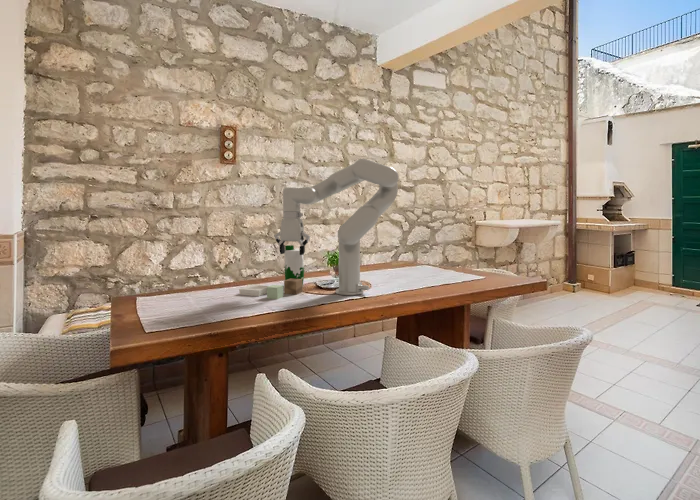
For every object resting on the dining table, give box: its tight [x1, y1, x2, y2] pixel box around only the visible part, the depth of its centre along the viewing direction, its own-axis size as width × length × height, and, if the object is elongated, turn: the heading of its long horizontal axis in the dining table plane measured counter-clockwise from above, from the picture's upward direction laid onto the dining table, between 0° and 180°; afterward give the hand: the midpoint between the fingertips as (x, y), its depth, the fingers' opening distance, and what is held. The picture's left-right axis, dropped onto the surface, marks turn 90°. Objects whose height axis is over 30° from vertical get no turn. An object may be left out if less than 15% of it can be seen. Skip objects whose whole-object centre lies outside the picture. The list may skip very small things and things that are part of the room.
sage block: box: [266, 284, 284, 300], centre depth 174 cm, size 5×5×5 cm
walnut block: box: [283, 278, 303, 295], centre depth 183 cm, size 6×6×6 cm
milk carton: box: [284, 244, 305, 286], centre depth 197 cm, size 9×9×20 cm
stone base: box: [238, 284, 269, 297], centre depth 183 cm, size 10×10×2 cm
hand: (292, 254), depth 182 cm, fingers open, 9 cm apart
